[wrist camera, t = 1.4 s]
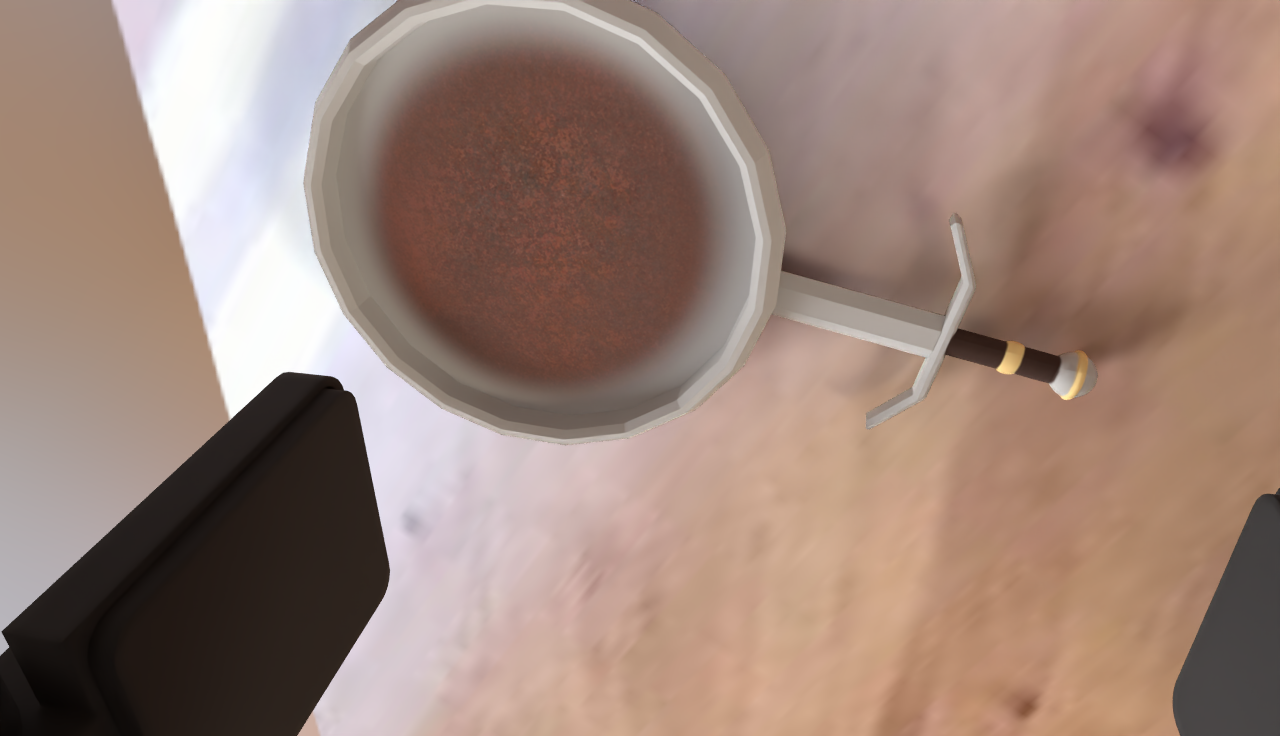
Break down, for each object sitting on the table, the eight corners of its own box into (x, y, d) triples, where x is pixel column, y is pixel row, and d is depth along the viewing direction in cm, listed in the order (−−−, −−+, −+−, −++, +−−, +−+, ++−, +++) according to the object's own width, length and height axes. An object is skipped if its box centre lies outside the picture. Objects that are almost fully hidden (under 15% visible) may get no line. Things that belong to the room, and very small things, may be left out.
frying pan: (996, 586, 33) (292, 386, 35) (986, 534, 36) (328, 349, 37) (1255, 153, 24) (282, -92, 26) (1217, 123, 26) (331, -99, 28)
